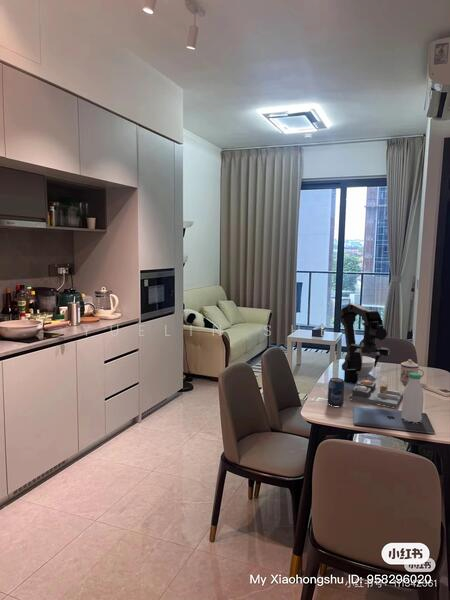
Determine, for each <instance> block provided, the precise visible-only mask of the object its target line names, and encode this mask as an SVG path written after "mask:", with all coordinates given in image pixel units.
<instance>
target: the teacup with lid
mask: <svg viewBox="0 0 450 600" xmlns="http://www.w3.org/2000/svg"><path fill="white" fill-rule="evenodd" d="M419 367H420V366H419V364H418V363H415V362H414V361H413V360H412V359H407V361H403V362H401V363H400V376H399V380H400V381H401V382H405V383H408V381H409V373H418V374H419V371H421V372H422V374H421V378H423V377H424V376H425V371H424V370H423V369H422V368H419Z"/></svg>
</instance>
